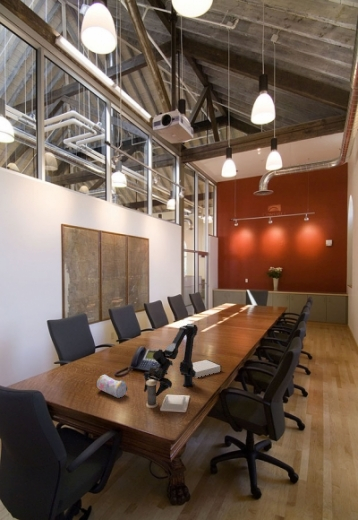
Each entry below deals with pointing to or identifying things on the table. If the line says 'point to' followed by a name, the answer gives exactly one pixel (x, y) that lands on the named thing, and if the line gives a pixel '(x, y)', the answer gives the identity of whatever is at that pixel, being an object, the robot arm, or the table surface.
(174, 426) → the table surface
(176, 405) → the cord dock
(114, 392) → the pencil case
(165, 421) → the table surface
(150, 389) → the disc
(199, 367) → the disc drive
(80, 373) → the table surface
